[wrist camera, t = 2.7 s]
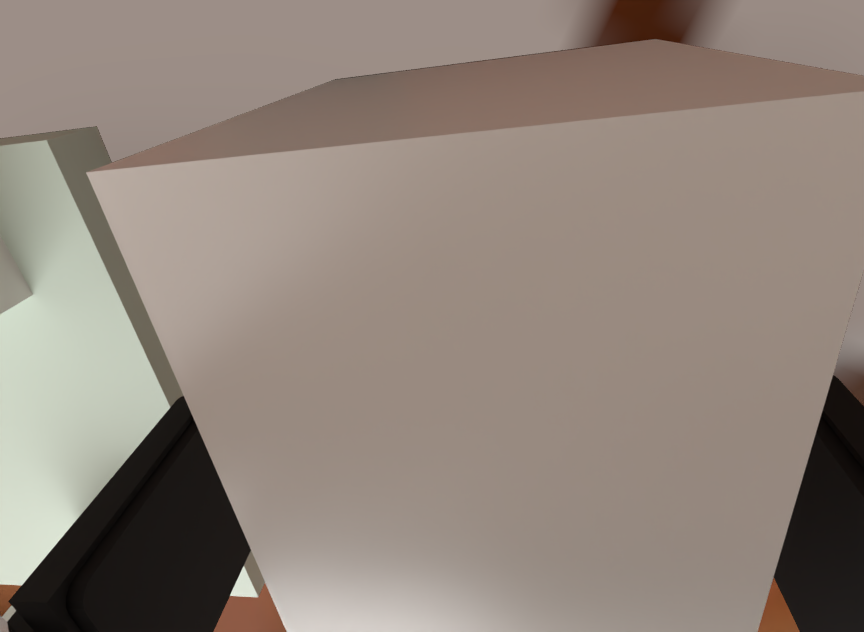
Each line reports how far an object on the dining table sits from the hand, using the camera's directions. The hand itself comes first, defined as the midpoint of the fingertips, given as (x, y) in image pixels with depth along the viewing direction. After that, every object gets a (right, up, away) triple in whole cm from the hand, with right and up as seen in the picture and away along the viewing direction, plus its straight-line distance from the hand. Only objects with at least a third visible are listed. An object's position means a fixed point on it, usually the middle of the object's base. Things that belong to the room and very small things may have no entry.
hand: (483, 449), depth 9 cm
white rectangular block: (+1, +1, +2) cm, 2 cm away
